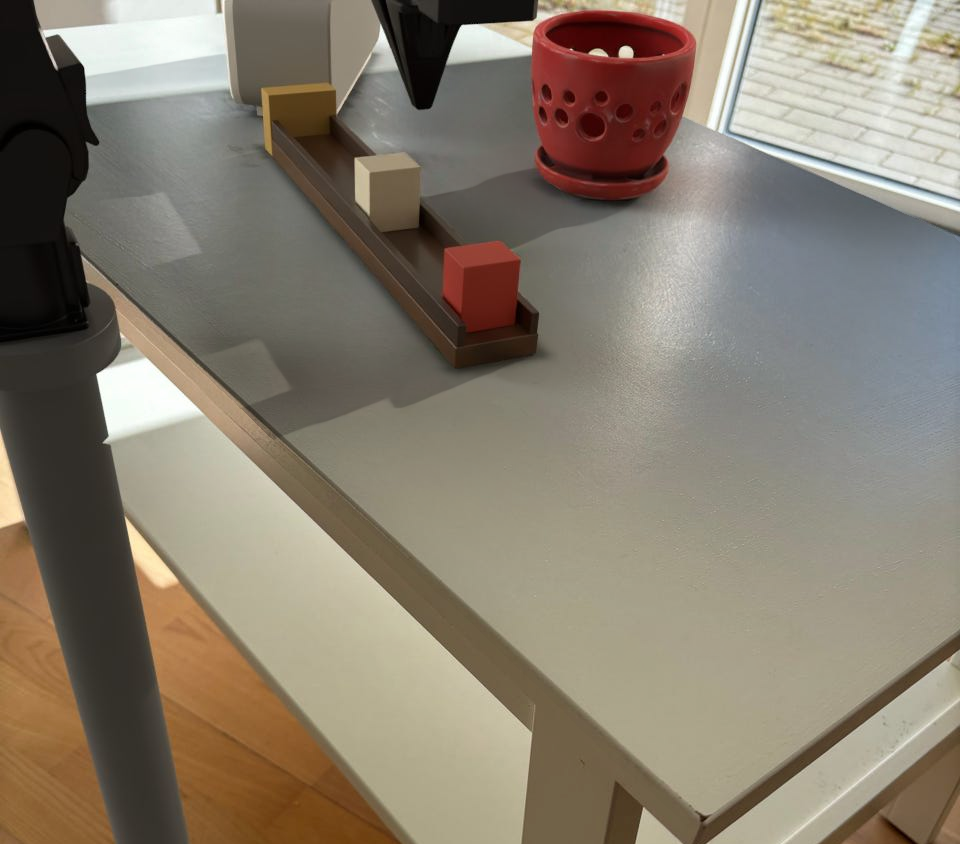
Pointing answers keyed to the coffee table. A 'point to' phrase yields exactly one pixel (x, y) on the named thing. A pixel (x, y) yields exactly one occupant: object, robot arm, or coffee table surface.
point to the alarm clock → (297, 45)
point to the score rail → (397, 247)
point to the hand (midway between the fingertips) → (421, 107)
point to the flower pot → (608, 100)
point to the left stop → (298, 109)
